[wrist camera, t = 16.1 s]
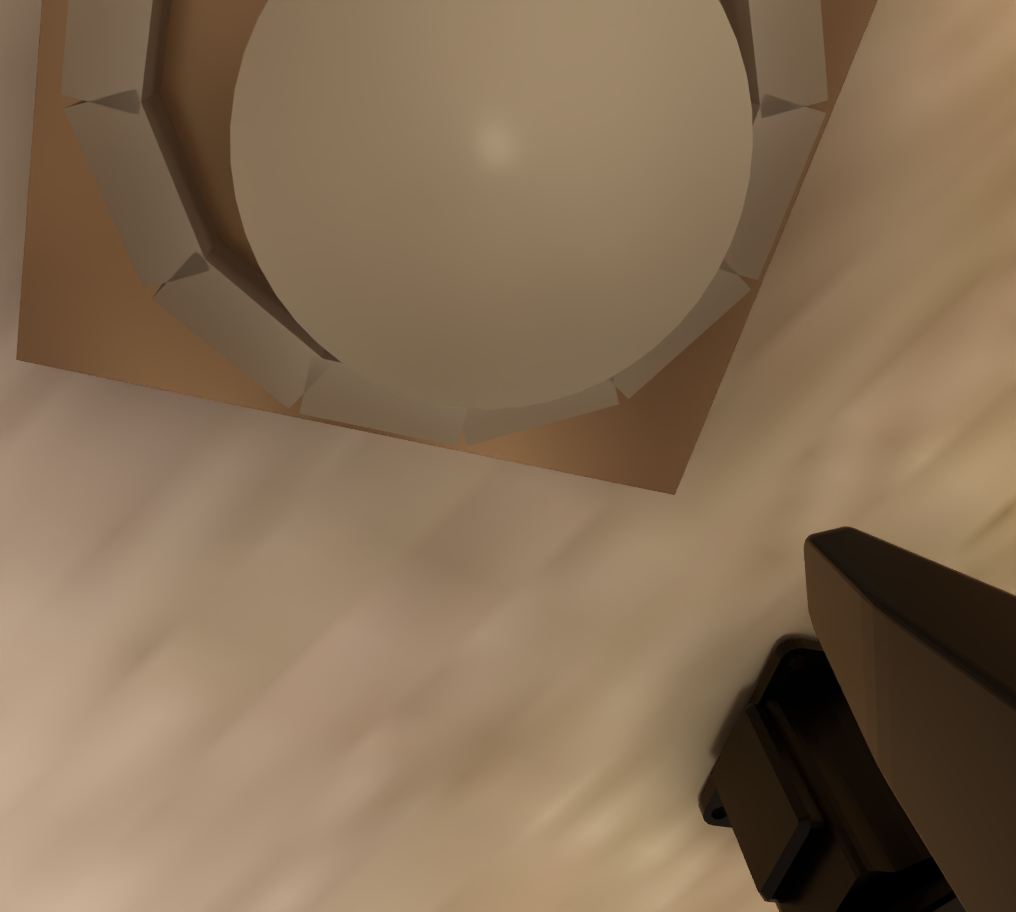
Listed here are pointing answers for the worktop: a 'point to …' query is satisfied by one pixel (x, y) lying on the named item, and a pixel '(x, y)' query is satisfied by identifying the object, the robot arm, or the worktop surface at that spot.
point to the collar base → (177, 360)
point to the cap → (490, 183)
